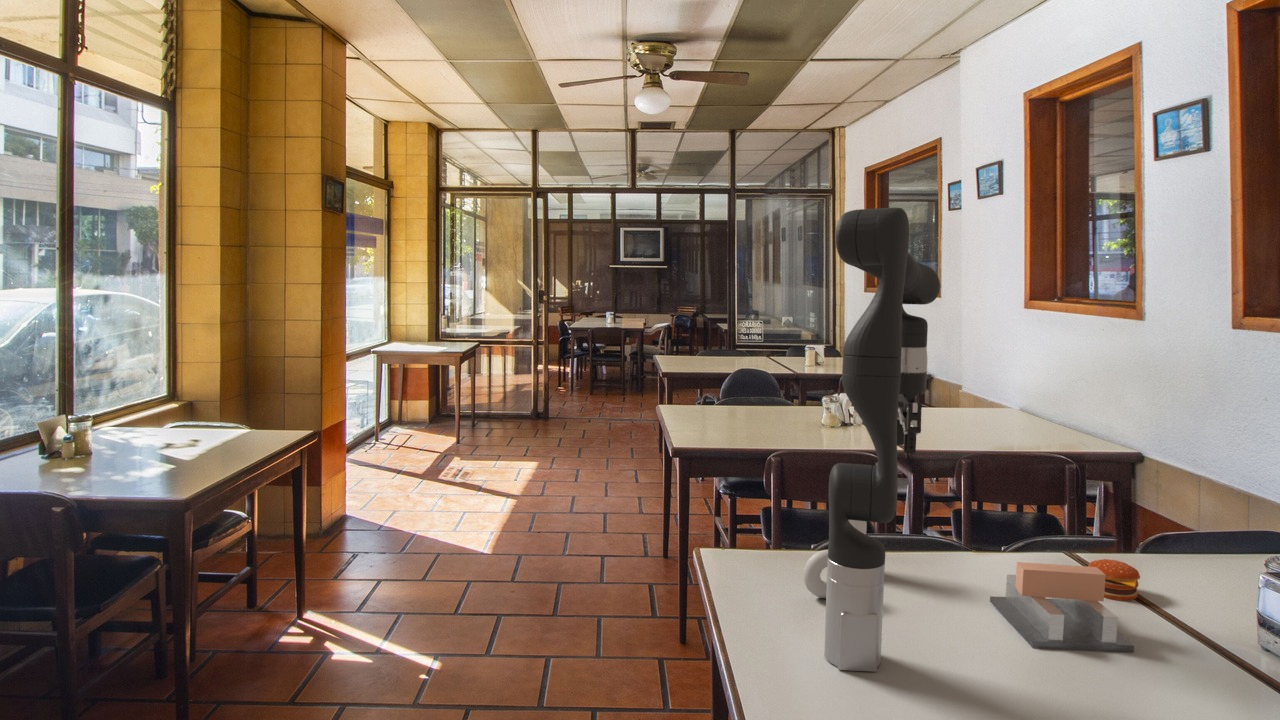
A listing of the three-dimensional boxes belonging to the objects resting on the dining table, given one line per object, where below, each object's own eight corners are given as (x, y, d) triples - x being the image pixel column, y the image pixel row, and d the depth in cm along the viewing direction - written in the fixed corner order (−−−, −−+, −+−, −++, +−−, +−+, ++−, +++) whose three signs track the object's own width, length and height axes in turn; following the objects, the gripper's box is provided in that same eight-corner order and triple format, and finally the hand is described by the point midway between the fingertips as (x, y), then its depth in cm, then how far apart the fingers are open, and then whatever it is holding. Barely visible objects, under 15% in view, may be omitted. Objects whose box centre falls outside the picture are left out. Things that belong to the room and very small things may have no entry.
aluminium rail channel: (1133, 652, 136) (1136, 618, 135) (1032, 647, 137) (1034, 614, 137) (1077, 605, 156) (1079, 576, 155) (989, 602, 157) (991, 573, 156)
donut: (806, 602, 156) (808, 554, 155) (799, 596, 159) (801, 548, 158) (853, 599, 157) (855, 551, 157) (845, 593, 161) (847, 545, 160)
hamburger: (1083, 595, 162) (1085, 563, 161) (1088, 581, 170) (1090, 551, 169) (1137, 605, 156) (1139, 573, 156) (1140, 591, 164) (1142, 560, 164)
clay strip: (1103, 601, 143) (1105, 574, 142) (1021, 595, 145) (1023, 569, 145) (1094, 593, 147) (1096, 567, 146) (1015, 587, 149) (1016, 561, 149)
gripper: (937, 373, 149) (933, 457, 151) (916, 365, 164) (912, 442, 165) (897, 372, 150) (893, 456, 152) (879, 365, 164) (876, 441, 166)
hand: (903, 448), depth 158 cm, fingers open, 8 cm apart
